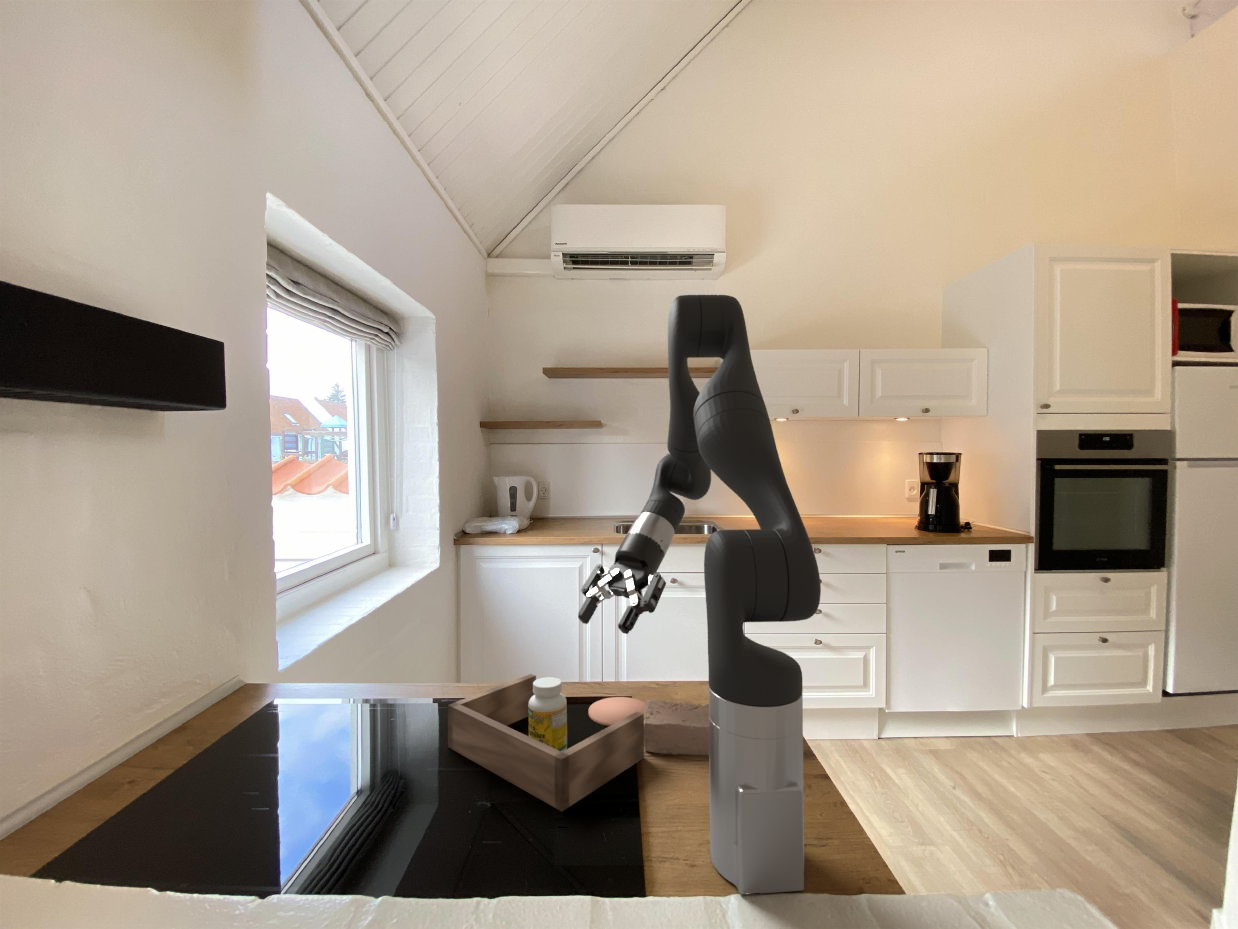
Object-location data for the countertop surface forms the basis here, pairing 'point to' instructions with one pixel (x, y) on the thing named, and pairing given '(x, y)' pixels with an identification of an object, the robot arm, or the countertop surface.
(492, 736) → the wooden frame
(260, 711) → the countertop surface
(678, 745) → the brick
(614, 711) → the pink round coaster
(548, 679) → the supplement bottle
